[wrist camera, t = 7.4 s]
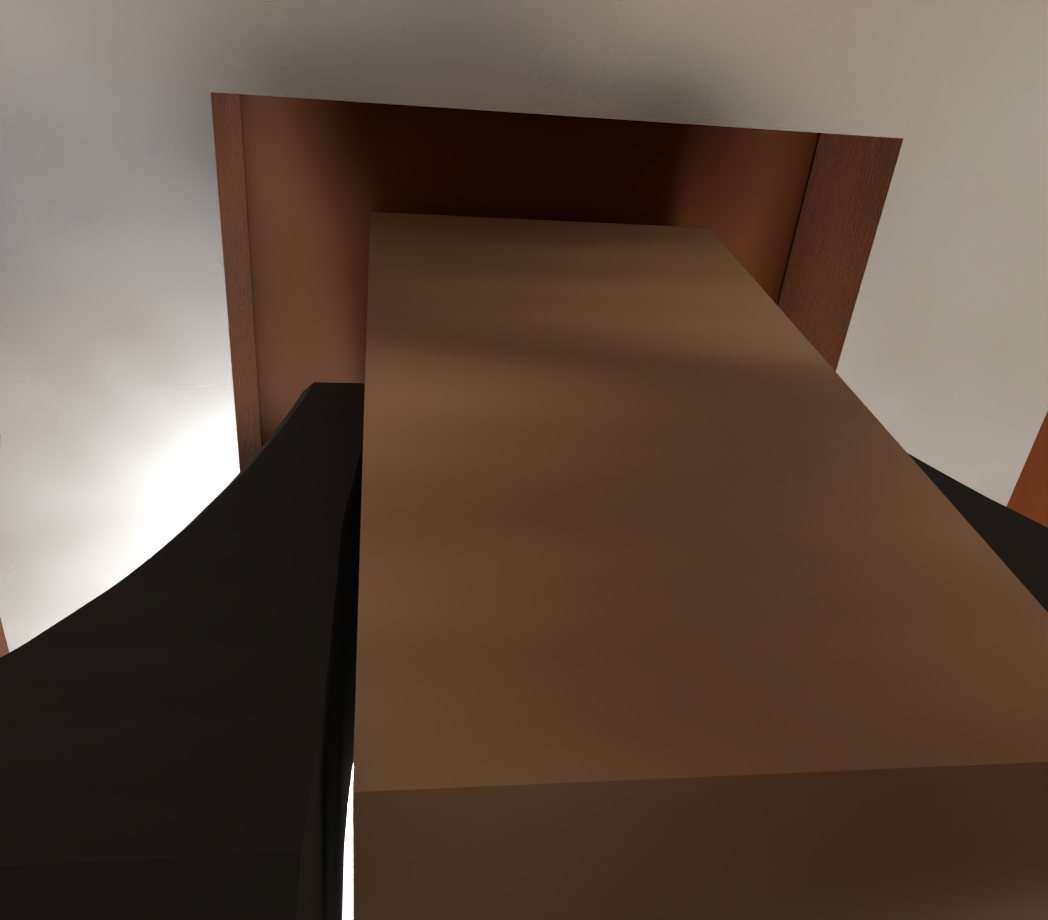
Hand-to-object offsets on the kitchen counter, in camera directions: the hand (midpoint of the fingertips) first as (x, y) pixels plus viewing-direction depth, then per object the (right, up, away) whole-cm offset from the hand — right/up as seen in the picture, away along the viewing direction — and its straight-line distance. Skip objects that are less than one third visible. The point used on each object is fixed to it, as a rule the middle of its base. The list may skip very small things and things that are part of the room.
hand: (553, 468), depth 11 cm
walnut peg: (0, +1, +2) cm, 2 cm away
